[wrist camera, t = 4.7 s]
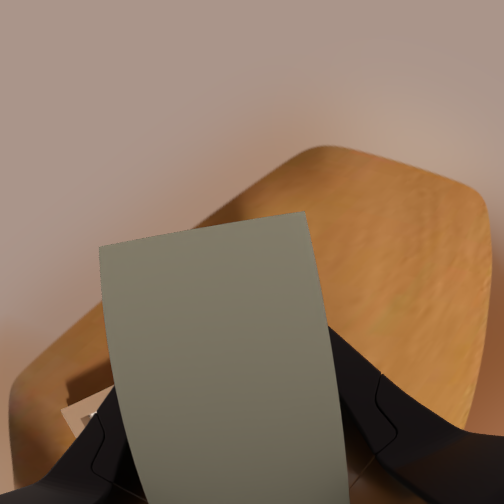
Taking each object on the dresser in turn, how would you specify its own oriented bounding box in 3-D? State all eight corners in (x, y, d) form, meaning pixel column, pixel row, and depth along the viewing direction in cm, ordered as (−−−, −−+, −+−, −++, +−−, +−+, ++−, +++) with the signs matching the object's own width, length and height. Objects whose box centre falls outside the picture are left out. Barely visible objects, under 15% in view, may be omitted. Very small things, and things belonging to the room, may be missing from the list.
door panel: (289, 400, 14) (351, 529, 4) (222, 410, 14) (167, 548, 4) (270, 286, 16) (304, 211, 5) (202, 297, 16) (99, 247, 5)
